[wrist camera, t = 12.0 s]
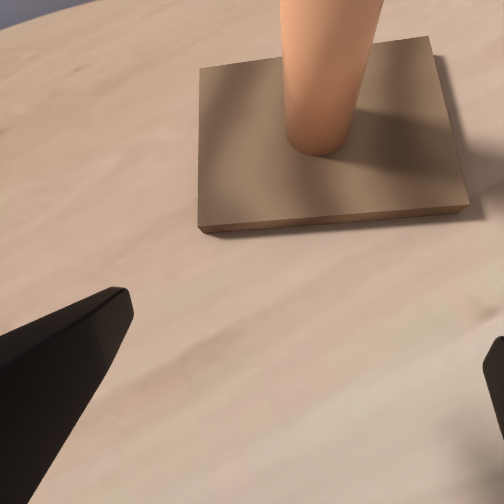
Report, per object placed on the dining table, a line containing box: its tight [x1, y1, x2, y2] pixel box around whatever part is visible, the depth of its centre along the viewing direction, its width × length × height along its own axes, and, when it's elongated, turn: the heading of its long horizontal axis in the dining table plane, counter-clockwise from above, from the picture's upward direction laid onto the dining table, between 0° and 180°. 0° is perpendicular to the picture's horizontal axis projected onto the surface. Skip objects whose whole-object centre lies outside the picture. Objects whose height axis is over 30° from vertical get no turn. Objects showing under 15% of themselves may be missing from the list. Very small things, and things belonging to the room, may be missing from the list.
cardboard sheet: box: [198, 36, 470, 233], centre depth 24 cm, size 18×14×2 cm
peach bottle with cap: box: [280, 0, 384, 156], centre depth 16 cm, size 5×5×14 cm
